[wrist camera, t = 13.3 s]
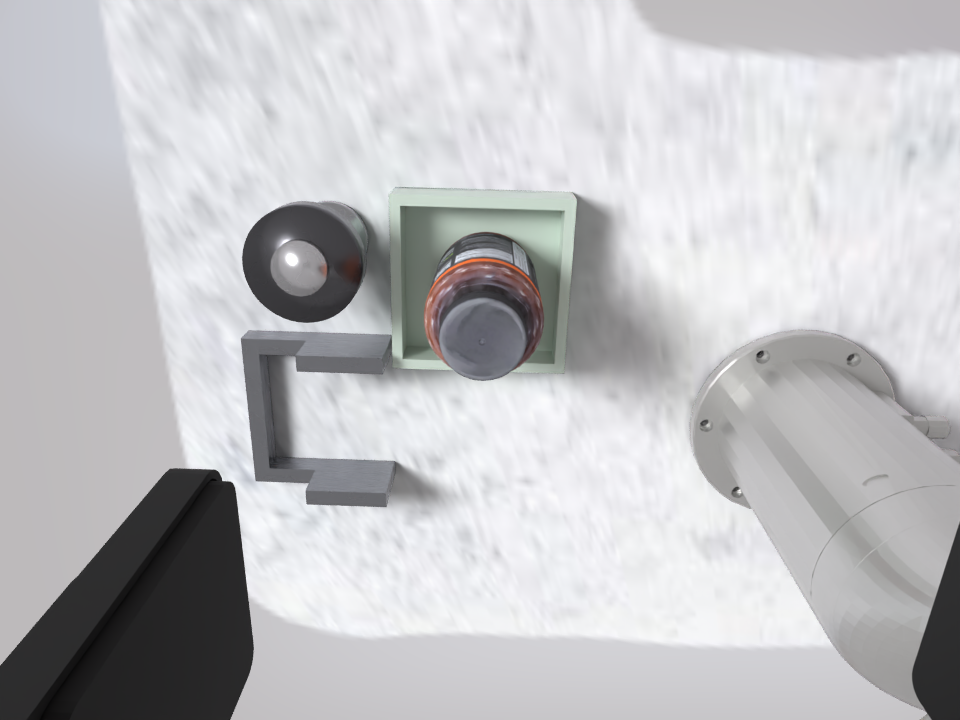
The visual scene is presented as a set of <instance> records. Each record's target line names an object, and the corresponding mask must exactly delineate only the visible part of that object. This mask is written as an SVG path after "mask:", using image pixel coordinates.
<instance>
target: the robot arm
mask: <svg viewBox="0 0 960 720" xmlns="http://www.w3.org/2000/svg"><path fill="white" fill-rule="evenodd" d="M760 351H762V352H761V354H759V355H757V353H758V352H760ZM849 355H850V357H848V356H849ZM703 420H706V421H705V422H702V421H703ZM701 422H702V423H701ZM949 433H950V423H949V421H948V419H947V418H946V417H944V416H925V415H922V416H912V415H911V414H910V413H908V412H907V411H906V410H905V409H904V408H902V407H901V406H900V405H899V404H897V403H896V402H895V396H894V391H893V389H892V386H891V383H890V381H889V378H888V376H887V375H886V373H885V372H884V370H883V369H882V367H881V366H880V364H879V363H878V362H877V361H876V360H875V359H874V358H873V357H872V356H870V355H869V354H868V353H867V352H866V351H865V350H863V349H862V348H860V347H859V346H857V345H856V344H855V343H853V342H851V341H849V340H847V339H844V338H842V337H840V336H838V335H835V334H831V333H826V332H822V331H817V330H793V331H786V332H779V333H775V334H772V335H769V336H766V337H763V338H760V339H757V340H755V341H753V342H751V343H749V344H747V345H745V346H743V347H741V348H740V349H738V350H737V351H736V352H734V353H733V354H732V355H730V356H729V357H728V358H726V359H725V360H724V361H723V362H722V363H721V364H720V365H719V366H718V367H717V368H716V369H715V370H714V371H713V372H712V373H711V374H710V376H709V377H708V379H707V380H706V382H705V383H704V385H703V386H702V388H701V389H700V391H699V393H698V396H697V398H696V401H695V403H694V405H693V409H692V414H691V419H690V442H691V447H692V451H693V455H694V457H695V459H696V461H697V464H698V466H699V468H700V470H701V471H702V473H703V474H704V476H705V477H706V479H707V481H708V482H709V483H710V484H711V485H712V486H713V487H714V488H715V489H716V490H717V491H718V492H719V493H720V494H722V495H723V496H724V497H726V498H727V499H729V500H730V501H732V502H734V503H737V504H739V505H742V506H744V507H747V508H749V509H752V510H753V511H754V513H755V515H756V517H757V518H758V520H759V522H760V523H761V525H762V527H763V528H764V530H765V532H766V533H767V535H768V537H769V538H770V540H771V542H772V544H773V545H774V547H775V549H776V550H777V552H778V554H779V555H780V557H781V559H782V560H783V562H784V564H785V565H786V567H787V569H788V571H789V572H790V574H791V576H792V577H793V579H794V581H795V582H796V584H797V586H798V587H799V589H800V591H801V593H802V594H803V596H804V598H805V599H806V601H807V603H808V604H809V606H810V608H811V609H812V611H813V613H814V614H815V616H816V618H817V620H818V621H819V623H820V625H821V626H822V628H823V630H824V631H825V633H826V635H827V636H828V638H829V640H830V641H831V643H832V644H833V646H834V647H835V648H836V650H837V651H838V652H839V654H840V655H841V656H842V658H844V660H845V661H846V662H847V663H848V664H849V665H850V666H851V667H852V668H853V669H854V670H855V671H856V672H858V673H859V674H860V675H861V676H862V677H864V678H865V679H867V680H868V681H869V682H871V683H872V684H873V685H875V686H876V687H878V688H879V689H880V690H882V691H884V692H886V693H887V694H889V695H891V696H893V697H895V698H897V699H899V700H901V701H903V702H905V703H907V704H909V705H911V706H914V707H916V708H919V709H921V710H924V711H926V712H927V715H925V716H924V717H923V718H922V719H920V720H960V455H959V454H958V453H957V451H955V450H953V449H941V448H940V447H938V446H937V445H936V444H935V443H934V442H932V441H931V440H930V439H929V438H932V439H944V438H946V437H948V435H949ZM253 650H254V647H253V635H252V627H251V618H250V610H249V601H248V592H247V584H246V575H245V567H244V558H243V550H242V541H241V532H240V524H239V515H238V507H237V498H236V491H235V487H234V485H233V483H232V482H228V481H222V478H221V476H220V473H219V472H218V471H216V470H206V469H177V468H175V469H169V470H168V471H167V472H166V473H165V474H164V475H163V476H162V477H161V479H160V480H159V481H158V482H157V483H156V484H155V486H154V487H153V488H152V489H151V490H150V492H149V493H148V494H147V495H146V496H145V497H144V499H143V500H142V501H141V502H140V503H139V505H138V506H137V507H136V508H135V509H134V510H133V512H132V513H131V514H130V515H129V516H128V518H127V519H126V520H125V521H124V522H123V524H122V525H121V526H120V527H119V528H118V529H117V531H116V532H115V533H114V534H113V535H112V536H111V538H110V539H109V540H108V541H107V542H106V543H105V545H104V546H103V547H102V548H101V549H100V551H99V552H98V553H97V554H96V555H95V557H94V558H93V559H92V560H91V561H90V562H89V564H88V565H87V566H86V567H85V568H84V570H83V571H82V572H81V573H80V574H79V576H77V578H75V579H74V580H73V581H72V582H71V583H70V584H69V585H68V587H67V588H66V589H65V590H64V591H63V593H62V594H61V595H60V596H59V597H58V599H57V600H56V601H55V602H54V603H53V605H51V607H50V608H49V609H48V610H47V611H46V613H45V614H44V615H43V616H42V617H41V618H40V620H39V621H38V622H37V623H36V624H35V626H34V627H33V628H32V629H31V630H30V631H29V633H28V634H27V635H26V636H25V637H24V638H23V640H22V641H21V642H20V643H19V644H18V645H17V647H16V648H15V649H14V650H13V651H12V653H11V654H10V655H9V656H8V657H7V658H6V660H5V661H4V662H3V663H2V664H1V665H0V720H230V719H231V717H232V714H233V712H234V709H235V707H236V705H237V702H238V700H239V697H240V695H241V692H242V690H243V688H244V685H245V683H246V681H247V678H248V676H249V673H250V670H251V665H252V660H253Z"/></svg>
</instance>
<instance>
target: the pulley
mask: <svg viewBox="0 0 960 720" xmlns="http://www.w3.org/2000/svg"><path fill="white" fill-rule="evenodd" d="M367 247H368V234H367V229H366V227H365V224H364V222H363V220H362V219H361V218H360V216H359V215H358V214H357V213H356V212H355V211H354V210H353V209H351V208H350V207H348V206H347V205H345V204H342V203H340V202H335V201H322V202H318V203H315V202H308V201H300V202H293V203H289V204H286V205H283V206H281V207H279V208H277V209H275V210H274V211H272V212H270V213H268V214H267V215H265V216H264V217H262V218H261V219H260V220H259V221H258V222H257V223H256V224H255V225H254V226H253V228H252V229H251V231H250V232H249V234H248V236H247V238H246V241H245V244H244V248H243V256H242V261H243V270H244V274H245V278H246V280H247V283H248V285H249V287H250V289H251V290H252V292H253V294H254V295H255V296H256V298H257V299H258V300H259V301H260V302H261V303H262V304H263V305H264V306H265V307H266V308H268V309H269V310H270V311H272V312H273V313H275V314H276V315H279V316H281V317H283V318H285V319H288V320H291V321H296V322H304V323H310V322H319V321H323V320H326V319H329V318H331V317H333V316H335V315H336V314H338V313H340V312H341V311H342V310H343V309H344V308H346V306H347V305H348V304H349V303H350V302H351V300H352V299H353V297H354V296H355V294H356V293H357V291H358V290H359V288H360V286H361V284H362V282H363V279H364V276H365V271H366V251H367Z"/></svg>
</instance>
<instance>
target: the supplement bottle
mask: <svg viewBox="0 0 960 720" xmlns="http://www.w3.org/2000/svg"><path fill="white" fill-rule="evenodd" d="M424 327H425V332H426V336H427V339H428V341H429V344H430V346H431V347H432V349H433V351H434V352H435V354H436V355H437V356H438V357H439V358H440V359H441V360H442V361H443V362H444V363H445V364H446V365H447V366H449V367H450V368H452V369H453V370H454V371H456V372H457V373H458V374H460V375H462V376H464V377H467V378H469V379H473V380H481V381H486V380H494V379H497V378H500V377H502V376H504V375H506V374H508V373H509V372H511V371H513V370H515V369H516V368H518V367H520V366H521V365H522V364H523V363H525V362H526V361H527V360H528V359H529V358H530V356H531V355H532V354H533V353H534V352H535V350H536V348H537V346H538V345H539V343H540V339H541V337H542V333H543V328H544V312H543V306H542V301H541V295H540V291H539V286H538V282H537V278H536V273H535V268H534V264H533V263H532V261H531V259H530V257H529V256H528V254H527V253H526V251H525V250H524V249H523V248H522V247H521V246H520V245H519V244H518V243H517V242H515V241H514V240H512V239H511V238H509V237H507V236H505V235H502V234H499V233H494V232H478V233H473V234H470V235H467V236H464V237H462V238H461V239H459V240H458V241H456V242H455V243H454V244H452V245H451V246H450V247H449V248H448V250H447V251H446V252H445V254H444V255H443V256H442V258H441V260H440V262H439V264H438V266H437V270H436V273H435V276H434V278H433V281H432V285H431V287H430V291H429V294H428V297H427V301H426V304H425V309H424Z"/></svg>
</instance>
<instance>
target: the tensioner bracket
mask: <svg viewBox="0 0 960 720" xmlns="http://www.w3.org/2000/svg"><path fill="white" fill-rule="evenodd" d="M241 344H242V354H243V363H244V373H245V383H246V392H247V402H248V412H249V421H250V431H251V440H252V450H253V460H254V469H255V479H256V481H265V482H294V483H309V484H308V487H307V489H306V502H307V504H313V505H341V506H370V507H386V506H387V503H388V499H389V495H390V491H391V487H392V484H393V480H394V476H395V461H375V460H345V459H316V458H286V457H276V449H275V438H274V427H273V416H272V405H271V394H270V383H269V372H268V361H267V355H294V356H296V368H297V371H298V372H329V373H360V374H383V372H384V370H385V367H386V365H387V362H388V360H389V357H390V355H391V352H392V335H377V334H346V333H314V332H283V331H251V330H249V331H248V332H247V333H246V334H245V335H244V336H243V337H242V338H241Z"/></svg>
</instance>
